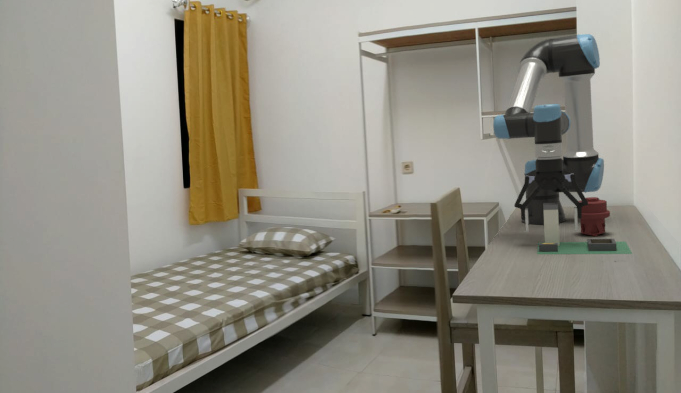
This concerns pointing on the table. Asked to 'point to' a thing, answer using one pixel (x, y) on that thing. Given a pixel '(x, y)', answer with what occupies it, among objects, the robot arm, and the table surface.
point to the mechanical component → (594, 216)
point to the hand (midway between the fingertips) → (551, 230)
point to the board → (585, 247)
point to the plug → (551, 223)
